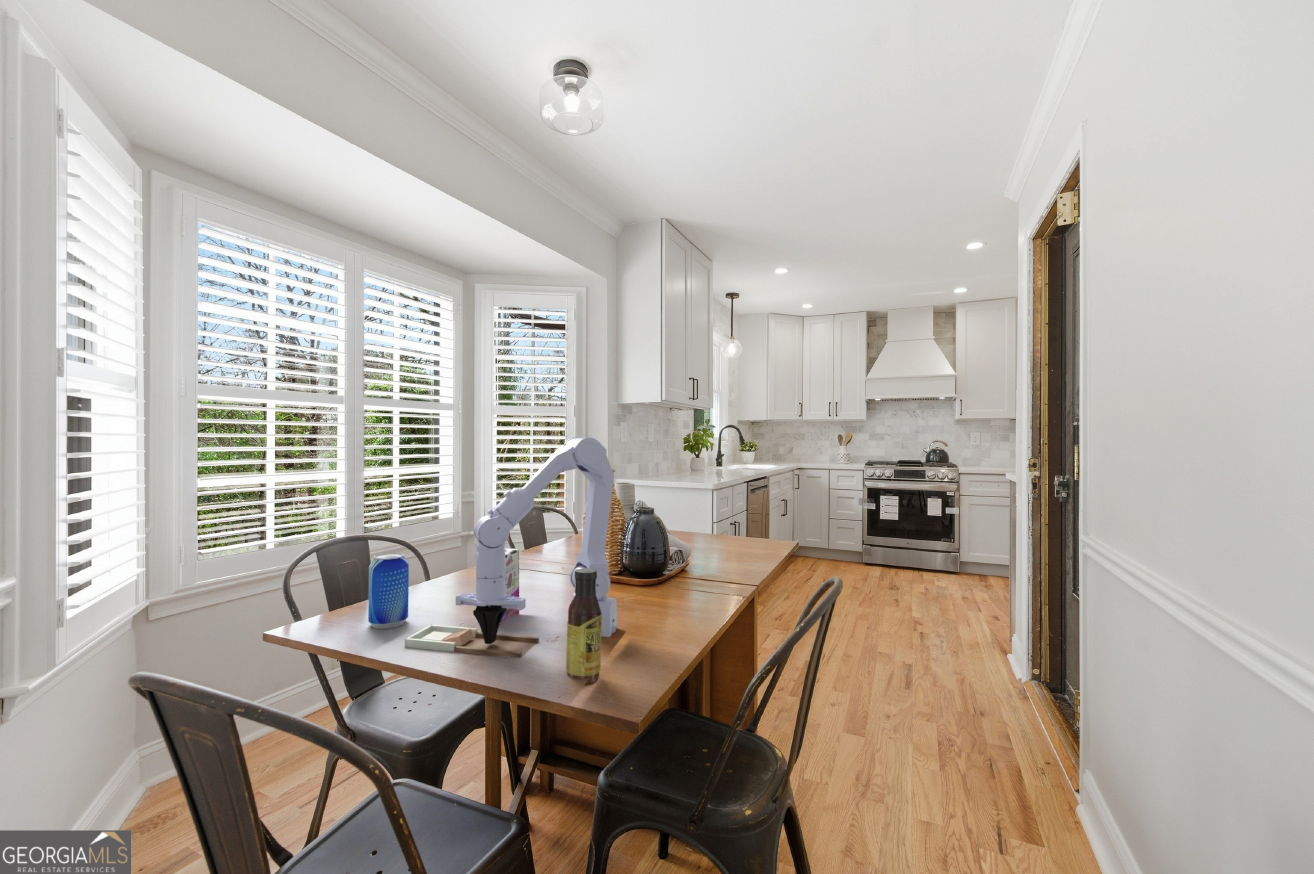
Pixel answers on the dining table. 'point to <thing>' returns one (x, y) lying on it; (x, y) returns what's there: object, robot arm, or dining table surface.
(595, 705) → the dining table surface
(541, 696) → the dining table surface
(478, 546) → the robot arm
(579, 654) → the sauce bottle
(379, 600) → the beer can
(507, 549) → the candy bar box
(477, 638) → the board
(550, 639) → the dining table surface
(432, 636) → the tile
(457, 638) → the tile
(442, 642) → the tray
